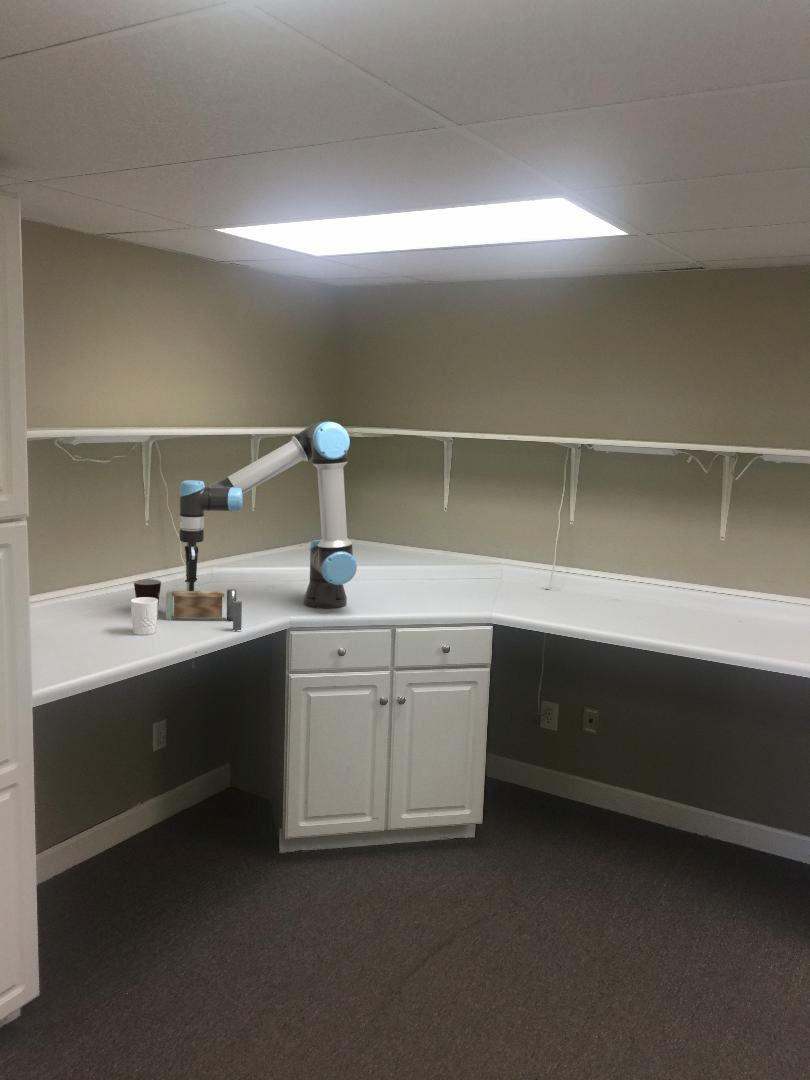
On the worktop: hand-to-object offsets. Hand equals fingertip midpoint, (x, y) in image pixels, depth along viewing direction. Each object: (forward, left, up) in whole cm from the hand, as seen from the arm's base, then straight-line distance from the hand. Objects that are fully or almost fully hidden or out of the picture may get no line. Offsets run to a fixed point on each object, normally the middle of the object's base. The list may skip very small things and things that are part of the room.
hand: (190, 600), depth 279 cm
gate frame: (-5, +8, -6) cm, 11 cm away
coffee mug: (+15, -8, -6) cm, 18 cm away
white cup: (+11, +19, -6) cm, 22 cm away
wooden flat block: (-3, +3, -5) cm, 6 cm away
